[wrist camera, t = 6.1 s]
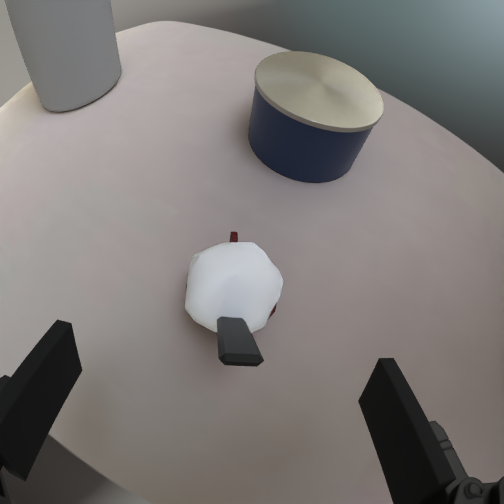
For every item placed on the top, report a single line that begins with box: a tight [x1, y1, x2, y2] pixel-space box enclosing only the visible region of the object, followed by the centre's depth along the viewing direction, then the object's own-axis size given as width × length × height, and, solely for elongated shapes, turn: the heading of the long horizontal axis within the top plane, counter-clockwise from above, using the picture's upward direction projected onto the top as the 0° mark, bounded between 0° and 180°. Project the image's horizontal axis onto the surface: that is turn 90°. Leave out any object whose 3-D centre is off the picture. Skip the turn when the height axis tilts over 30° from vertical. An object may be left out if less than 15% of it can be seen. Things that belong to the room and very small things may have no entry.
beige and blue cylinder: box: [248, 51, 384, 183], centre depth 28 cm, size 12×12×8 cm
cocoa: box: [185, 232, 284, 366], centre depth 18 cm, size 10×6×12 cm, turn 157°
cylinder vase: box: [5, 0, 121, 112], centre depth 22 cm, size 12×12×25 cm
